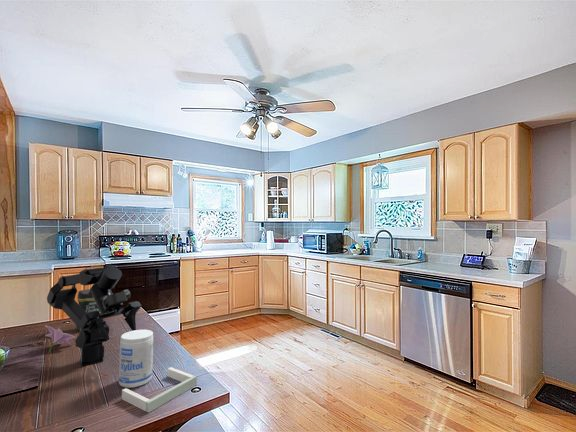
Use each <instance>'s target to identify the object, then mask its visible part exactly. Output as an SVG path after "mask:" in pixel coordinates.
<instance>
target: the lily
mask: <svg viewBox="0 0 576 432" xmlns="http://www.w3.org/2000/svg"><path fill="white" fill-rule="evenodd" d="M44 326H45V327H46V328H47V329H48V331H49V333H48V334H45V335H44V337H48V338H51V339H53V342H52V344H51V346H50V348H49V350H48V353H50V352H51V350H52V348H53V346H54V344H55V343H56V342H57V343H58V344H59V345H62V344H64V343H65V344H67V345H69V346H73V345H72V343H71V341H69V340H70V339H74V338H75V339H76V336H75V335H74V334H70V333H69V332H68V333H67V332H63V331H62V329H60V327H59V328H57V329H55V328H54V327H52V326H50V325H46V324H45V325H44Z"/></svg>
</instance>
